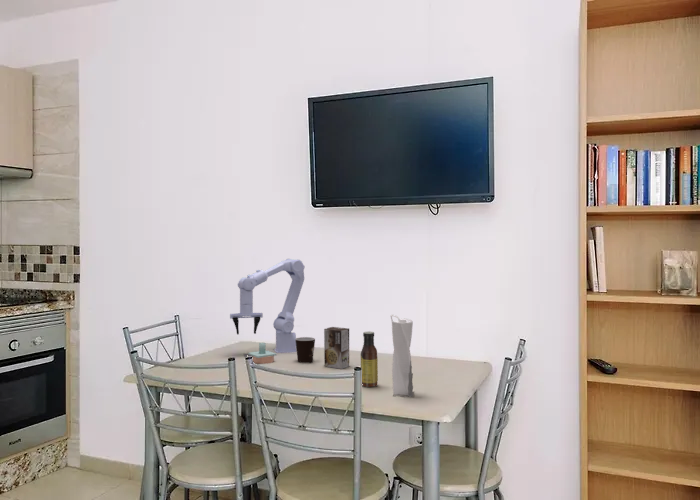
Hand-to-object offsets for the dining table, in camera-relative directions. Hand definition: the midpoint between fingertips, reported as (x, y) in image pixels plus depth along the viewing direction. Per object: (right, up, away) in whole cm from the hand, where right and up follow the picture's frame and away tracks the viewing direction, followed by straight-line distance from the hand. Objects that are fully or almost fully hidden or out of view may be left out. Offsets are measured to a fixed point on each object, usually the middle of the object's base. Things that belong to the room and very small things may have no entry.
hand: (246, 333), depth 266 cm
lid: (+9, -8, -11) cm, 16 cm away
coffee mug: (+29, -11, -9) cm, 32 cm away
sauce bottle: (+54, -12, -50) cm, 75 cm away
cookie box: (+42, -11, -19) cm, 47 cm away
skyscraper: (+65, -13, -60) cm, 90 cm away
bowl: (+9, -11, -12) cm, 18 cm away
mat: (+5, -10, 0) cm, 12 cm away
